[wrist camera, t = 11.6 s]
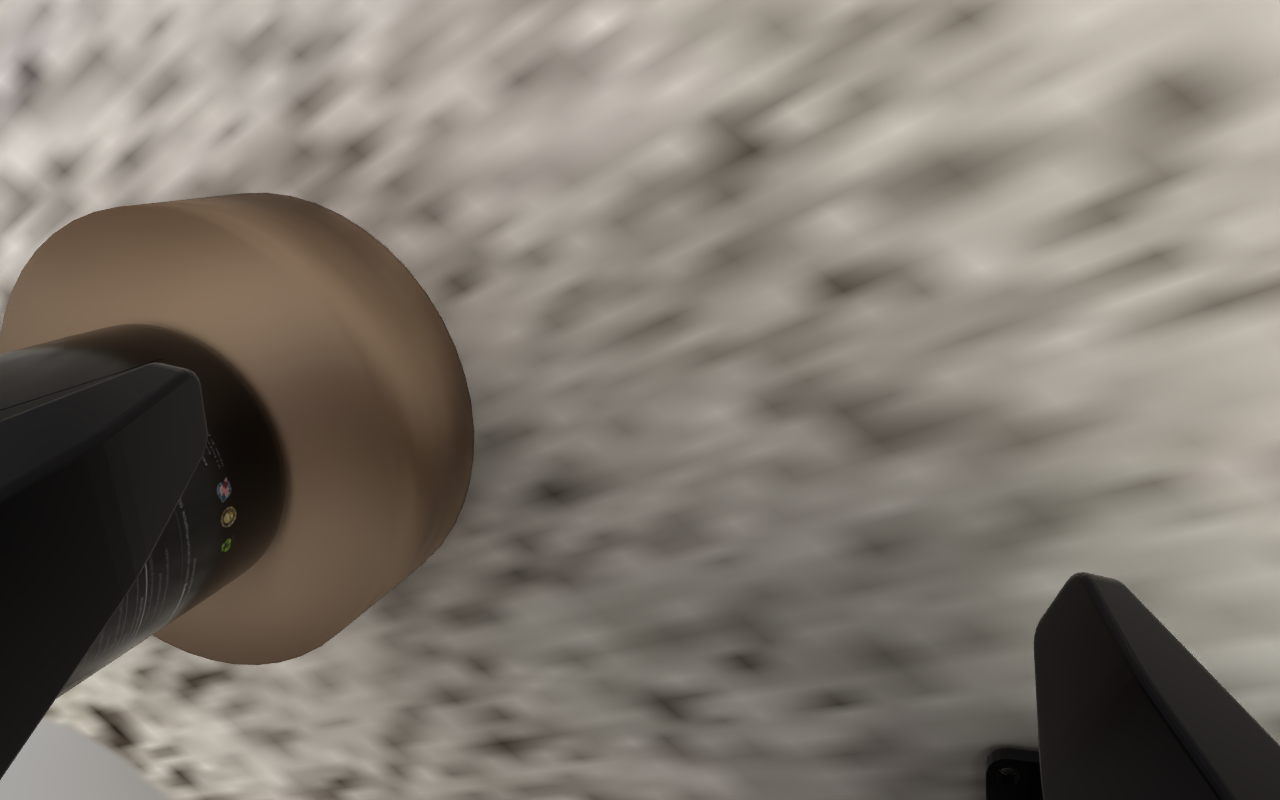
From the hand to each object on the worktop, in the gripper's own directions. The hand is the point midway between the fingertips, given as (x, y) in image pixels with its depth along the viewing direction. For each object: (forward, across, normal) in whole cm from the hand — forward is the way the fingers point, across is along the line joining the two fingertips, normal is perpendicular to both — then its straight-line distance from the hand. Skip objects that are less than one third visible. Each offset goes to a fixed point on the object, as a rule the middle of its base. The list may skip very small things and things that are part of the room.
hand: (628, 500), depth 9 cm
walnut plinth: (+13, +10, +11) cm, 20 cm away
